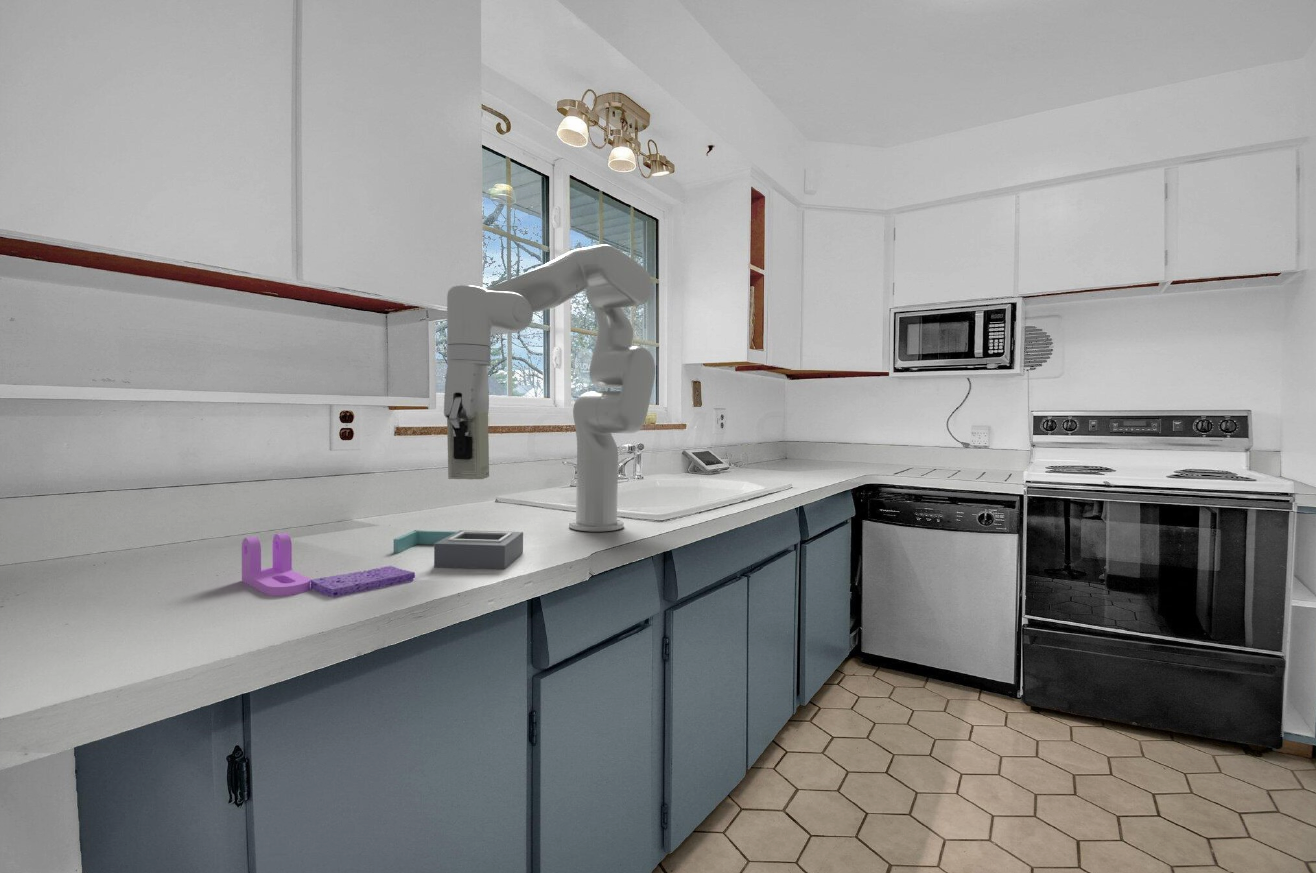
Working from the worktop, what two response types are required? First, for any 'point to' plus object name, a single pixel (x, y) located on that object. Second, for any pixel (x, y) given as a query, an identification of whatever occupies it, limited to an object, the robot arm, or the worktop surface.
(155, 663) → the worktop surface
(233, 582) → the worktop surface
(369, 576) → the sponges
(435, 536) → the teal l-shaped piece
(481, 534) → the socket block
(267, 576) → the bracket
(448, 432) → the skincare box
